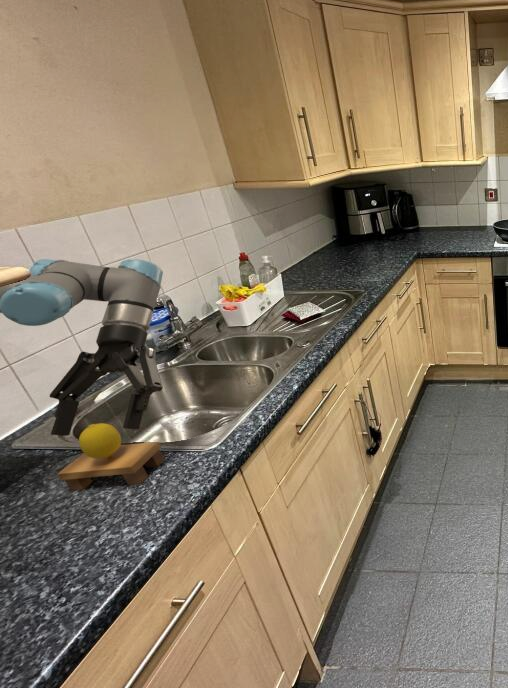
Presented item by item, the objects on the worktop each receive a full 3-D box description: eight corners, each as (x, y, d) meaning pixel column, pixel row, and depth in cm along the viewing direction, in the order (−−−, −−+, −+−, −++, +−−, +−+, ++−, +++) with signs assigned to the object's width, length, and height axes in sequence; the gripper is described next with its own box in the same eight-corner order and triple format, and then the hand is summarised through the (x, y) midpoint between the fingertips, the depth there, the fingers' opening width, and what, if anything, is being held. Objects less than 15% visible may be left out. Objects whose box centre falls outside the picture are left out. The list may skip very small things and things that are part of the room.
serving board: (69, 493, 80) (56, 474, 78) (101, 466, 86) (89, 448, 84) (142, 486, 80) (131, 466, 78) (167, 460, 86) (158, 441, 84)
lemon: (99, 452, 83) (80, 421, 79) (132, 443, 84) (115, 412, 81) (85, 471, 78) (64, 438, 75) (121, 461, 80) (102, 428, 77)
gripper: (196, 329, 90) (175, 427, 82) (83, 339, 90) (50, 438, 82) (170, 317, 83) (143, 423, 75) (47, 328, 83) (7, 436, 75)
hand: (95, 432), depth 79 cm, fingers open, 13 cm apart
